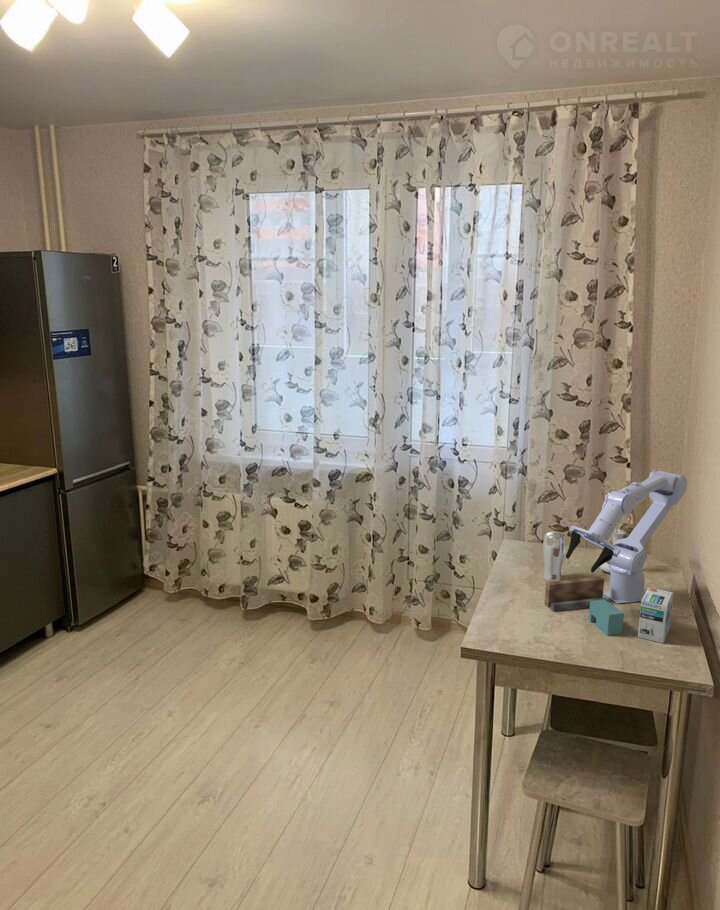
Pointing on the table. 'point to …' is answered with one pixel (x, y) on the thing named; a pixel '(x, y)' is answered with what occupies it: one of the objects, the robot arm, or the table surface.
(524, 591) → the table surface
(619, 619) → the teal rectangular block
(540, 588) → the table surface
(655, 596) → the light bulb box
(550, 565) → the beer glass
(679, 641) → the table surface
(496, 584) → the table surface
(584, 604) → the brown wooden ledge block
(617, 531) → the flower in vase
